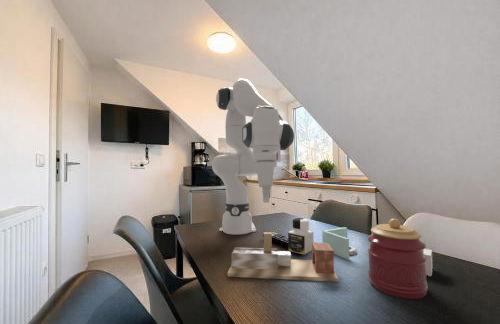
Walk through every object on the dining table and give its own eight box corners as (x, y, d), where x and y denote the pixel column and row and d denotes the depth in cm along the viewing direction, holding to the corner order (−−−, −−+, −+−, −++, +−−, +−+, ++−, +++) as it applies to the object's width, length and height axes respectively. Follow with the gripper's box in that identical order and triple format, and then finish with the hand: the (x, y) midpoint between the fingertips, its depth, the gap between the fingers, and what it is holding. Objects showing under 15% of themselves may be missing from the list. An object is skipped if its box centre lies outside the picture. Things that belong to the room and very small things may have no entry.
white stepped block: (232, 263, 70) (232, 233, 71) (234, 259, 73) (233, 230, 74) (291, 266, 68) (290, 235, 69) (290, 261, 71) (289, 232, 72)
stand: (227, 276, 66) (227, 250, 66) (235, 260, 78) (234, 238, 78) (338, 281, 62) (337, 254, 63) (328, 263, 74) (327, 240, 75)
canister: (360, 274, 66) (358, 214, 67) (405, 275, 66) (403, 214, 67) (385, 300, 53) (383, 224, 54) (441, 300, 53) (438, 224, 54)
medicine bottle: (287, 250, 87) (287, 219, 87) (297, 246, 92) (297, 216, 93) (304, 255, 82) (304, 221, 82) (314, 250, 87) (313, 218, 88)
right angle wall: (347, 261, 78) (346, 239, 78) (322, 250, 89) (322, 230, 89) (371, 255, 83) (370, 234, 83) (345, 245, 94) (344, 227, 94)
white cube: (431, 277, 65) (430, 255, 65) (406, 271, 69) (405, 250, 69) (432, 269, 70) (431, 249, 70) (408, 264, 73) (408, 245, 74)
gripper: (259, 158, 83) (259, 196, 82) (253, 154, 62) (253, 204, 62) (276, 158, 82) (277, 196, 81) (276, 153, 62) (277, 204, 61)
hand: (267, 200), depth 71 cm, fingers open, 8 cm apart
